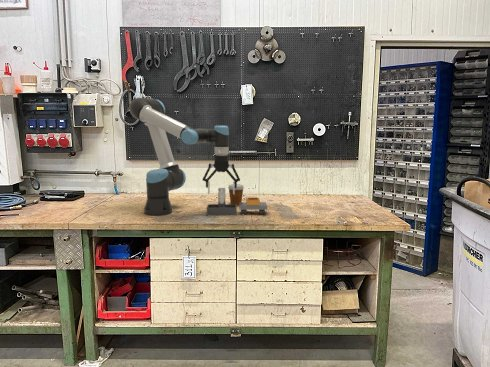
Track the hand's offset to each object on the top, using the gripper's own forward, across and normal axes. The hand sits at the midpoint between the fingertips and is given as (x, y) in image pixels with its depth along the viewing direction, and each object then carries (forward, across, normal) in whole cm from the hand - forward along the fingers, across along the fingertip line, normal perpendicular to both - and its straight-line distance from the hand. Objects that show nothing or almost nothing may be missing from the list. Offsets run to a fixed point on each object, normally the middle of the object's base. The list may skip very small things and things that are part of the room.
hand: (221, 193), depth 205 cm
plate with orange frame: (+11, +17, 0) cm, 20 cm away
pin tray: (+11, 0, 0) cm, 11 cm away
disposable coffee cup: (+11, +8, +20) cm, 25 cm away
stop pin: (+10, 0, 0) cm, 10 cm away
